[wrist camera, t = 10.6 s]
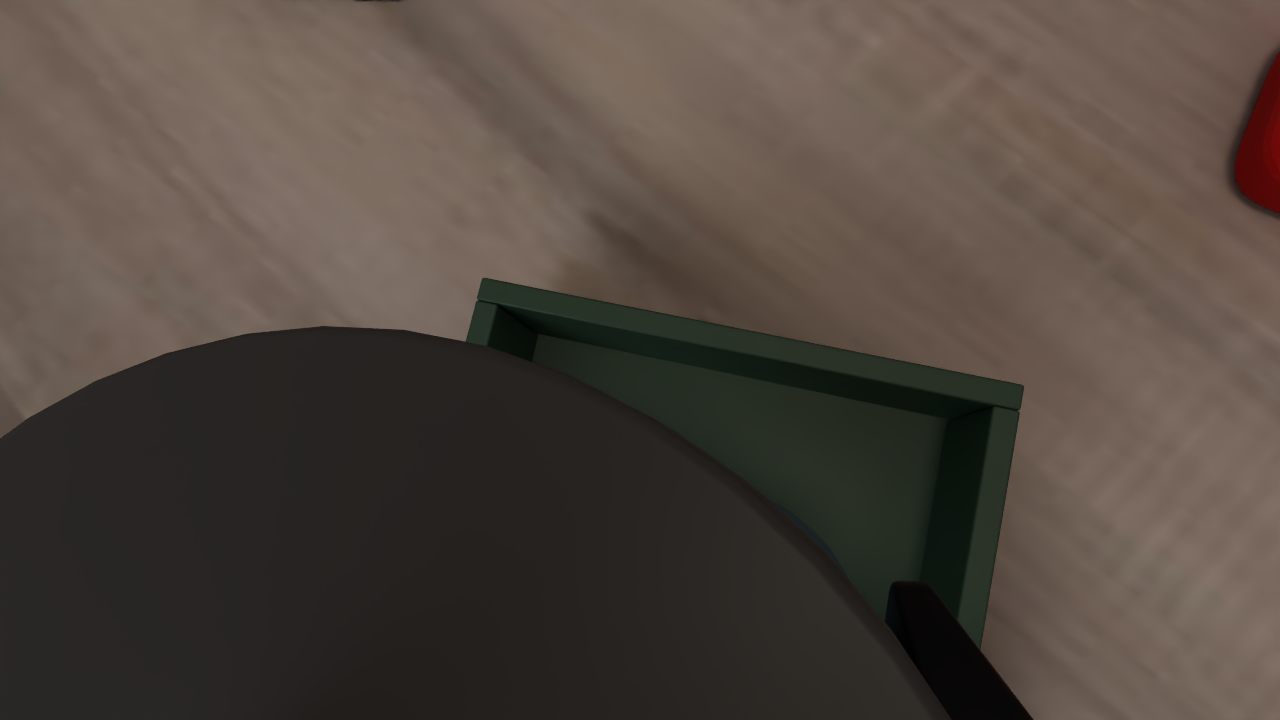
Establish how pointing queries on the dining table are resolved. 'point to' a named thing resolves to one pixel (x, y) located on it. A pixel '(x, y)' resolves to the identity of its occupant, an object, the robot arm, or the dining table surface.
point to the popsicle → (1262, 146)
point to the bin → (802, 430)
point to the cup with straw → (408, 551)
